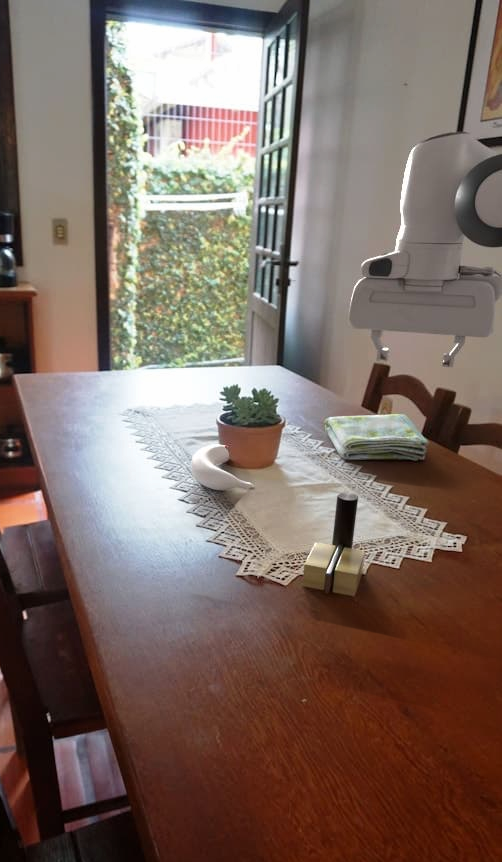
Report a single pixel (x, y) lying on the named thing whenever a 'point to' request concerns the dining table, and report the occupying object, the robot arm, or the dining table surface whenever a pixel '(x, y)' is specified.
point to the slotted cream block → (345, 571)
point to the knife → (342, 531)
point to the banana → (214, 469)
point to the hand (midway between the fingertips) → (414, 363)
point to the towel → (376, 437)
